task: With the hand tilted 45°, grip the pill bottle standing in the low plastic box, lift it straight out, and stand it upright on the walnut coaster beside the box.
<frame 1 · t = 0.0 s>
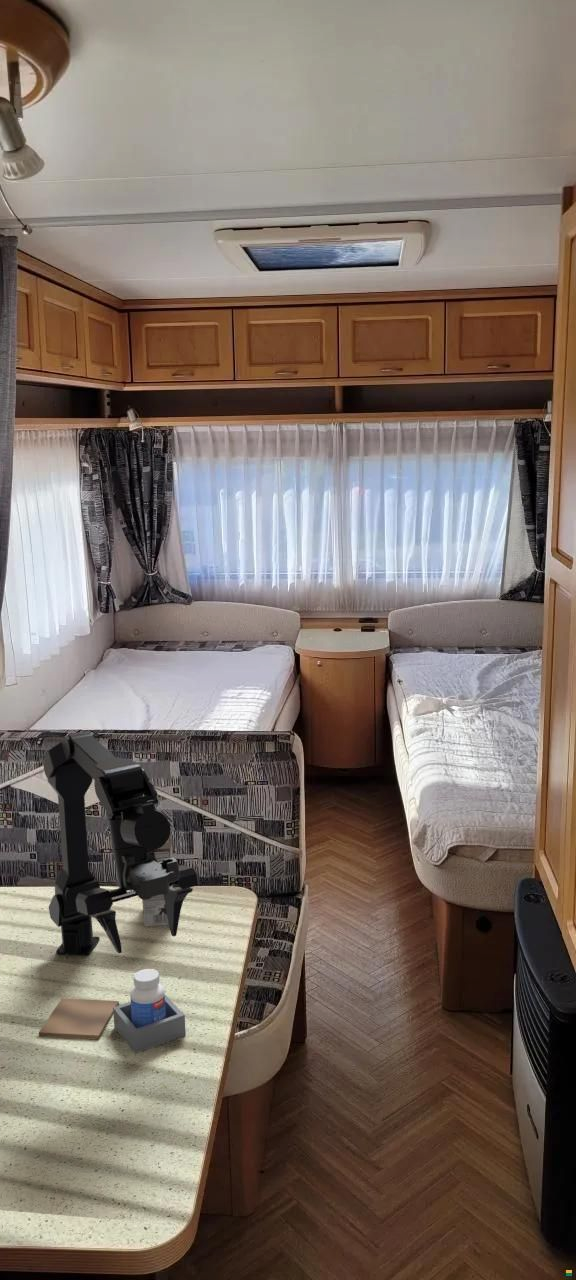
hand: (147, 944, 152), 15 cm above the table, tool pointing down, fingers open, 9 cm apart
coffee box: (160, 916, 195), on the table
pill bottle: (149, 1032, 155), resting in holder box
walnut coaster: (79, 1019, 159), on the table
holder box: (149, 1031, 155), on the table
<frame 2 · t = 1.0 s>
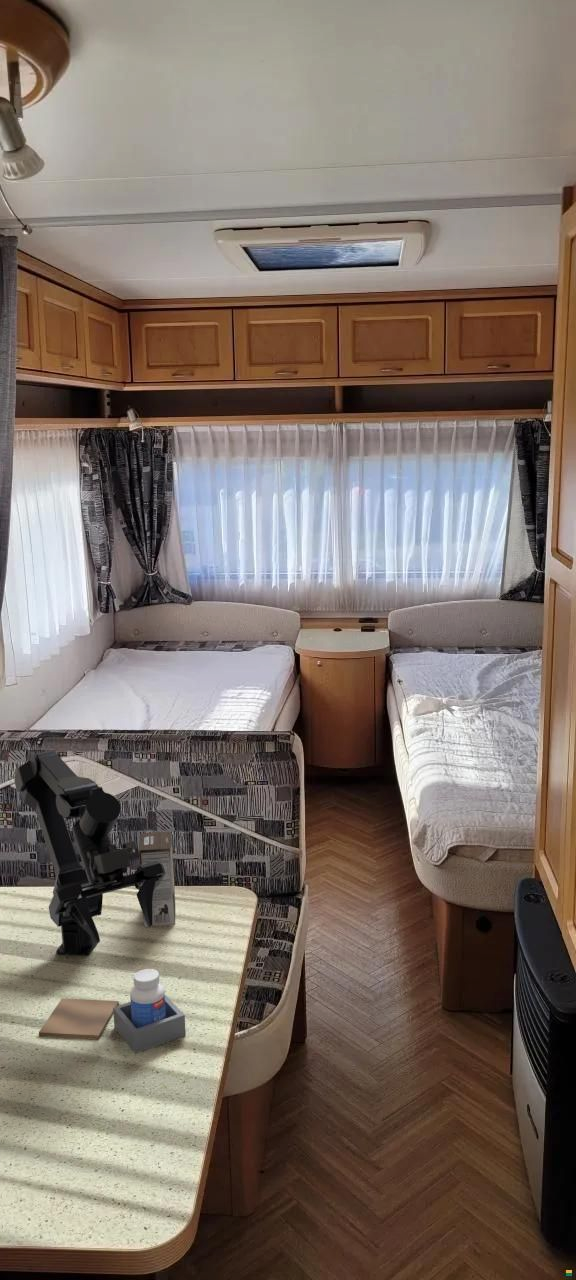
hand: (125, 934, 160), 13 cm above the table, tool tilted 45°, fingers open, 9 cm apart
nothing on the table moved.
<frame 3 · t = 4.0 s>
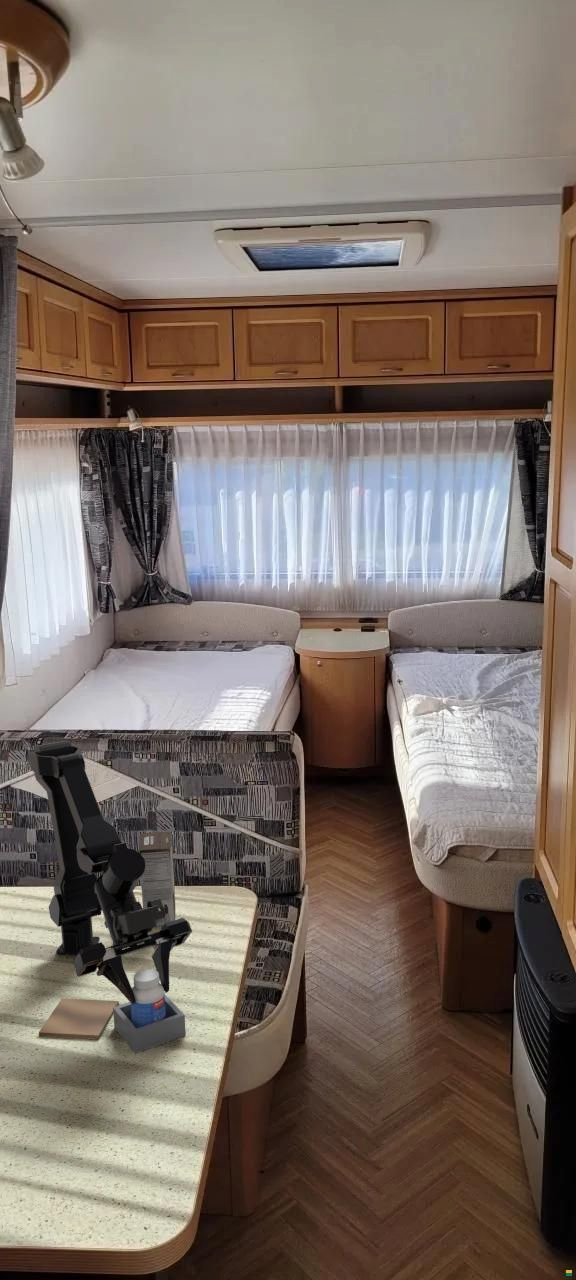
hand: (150, 997, 153), 7 cm above the table, tool tilted 45°, fingers closed on pill bottle, 5 cm apart
pill bottle: (149, 1032, 155), resting in holder box, touching gripper
everything else where it was.
when the fingers open (8 cm above the table, at t = 8.8 s): pill bottle stays where it is, resting on walnut coaster.
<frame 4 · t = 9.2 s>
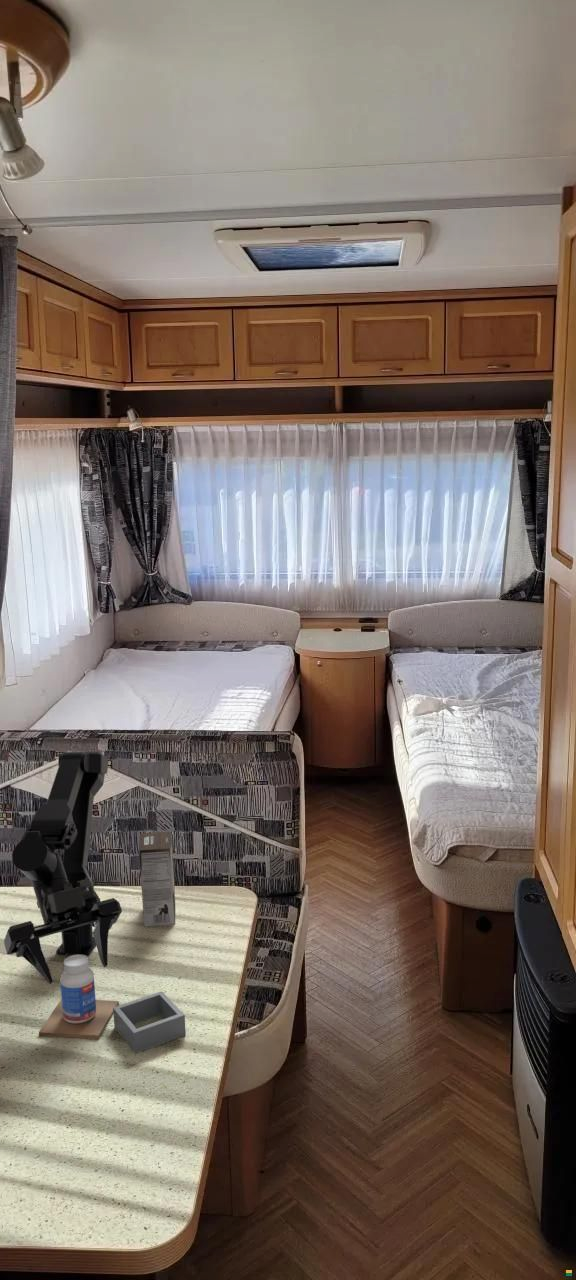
hand: (78, 974, 157), 9 cm above the table, tool tilted 45°, fingers open, 9 cm apart
pill bottle: (80, 1016, 160), resting on walnut coaster
everything else where it was.
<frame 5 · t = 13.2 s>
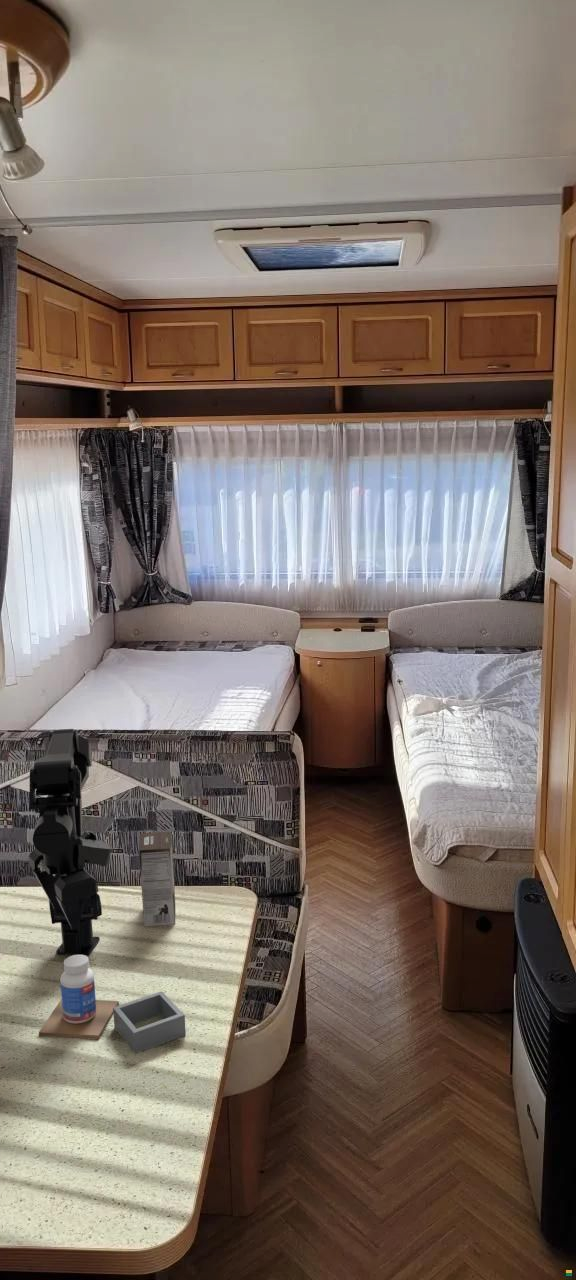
hand: (66, 918, 167), 13 cm above the table, tool pointing down, fingers open, 9 cm apart
nothing on the table moved.
at the end: pill bottle inside the target area on the walnut coaster (0.3 cm from its centre), point 0.4 cm above the walnut coaster's base; pill bottle tilted 0°; the gripper is holding nothing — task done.
